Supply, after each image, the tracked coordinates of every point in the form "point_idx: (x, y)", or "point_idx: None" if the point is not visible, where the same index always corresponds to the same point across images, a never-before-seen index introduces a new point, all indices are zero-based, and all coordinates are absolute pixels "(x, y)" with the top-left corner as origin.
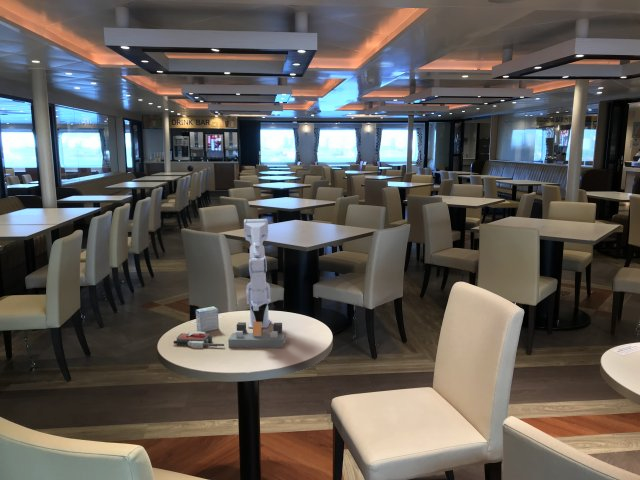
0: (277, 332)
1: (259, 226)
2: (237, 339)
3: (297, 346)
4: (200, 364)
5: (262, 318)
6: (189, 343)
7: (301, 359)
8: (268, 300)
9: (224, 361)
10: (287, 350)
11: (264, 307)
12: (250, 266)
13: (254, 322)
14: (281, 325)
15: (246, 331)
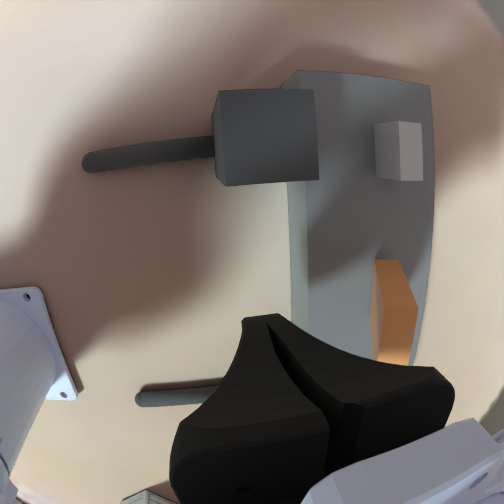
0: (399, 122)
1: None
2: None
3: (363, 11)
4: (491, 384)
5: (310, 336)
6: None
7: (485, 23)
8: (472, 482)
9: (496, 330)
10: (424, 68)
11: (425, 402)
12: None
13: (406, 364)
14: (277, 91)
15: (155, 393)
